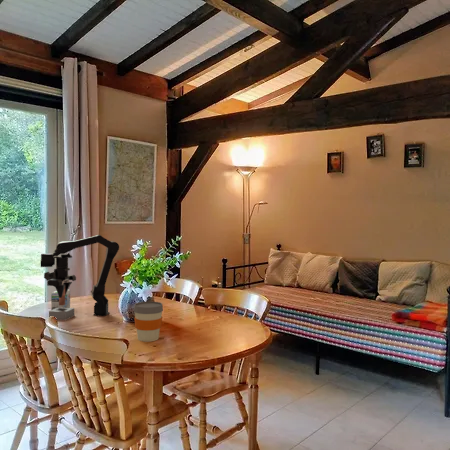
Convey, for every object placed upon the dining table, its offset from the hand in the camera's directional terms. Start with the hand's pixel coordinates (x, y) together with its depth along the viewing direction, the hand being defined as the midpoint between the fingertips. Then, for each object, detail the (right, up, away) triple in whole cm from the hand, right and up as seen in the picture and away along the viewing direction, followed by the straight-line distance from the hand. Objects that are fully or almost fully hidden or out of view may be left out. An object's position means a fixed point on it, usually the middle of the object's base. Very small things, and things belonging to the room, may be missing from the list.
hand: (62, 296), depth 223 cm
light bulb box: (-6, -10, +15) cm, 19 cm away
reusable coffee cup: (+50, -13, -33) cm, 61 cm away
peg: (0, -4, 0) cm, 4 cm away
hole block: (0, -11, 0) cm, 11 cm away
